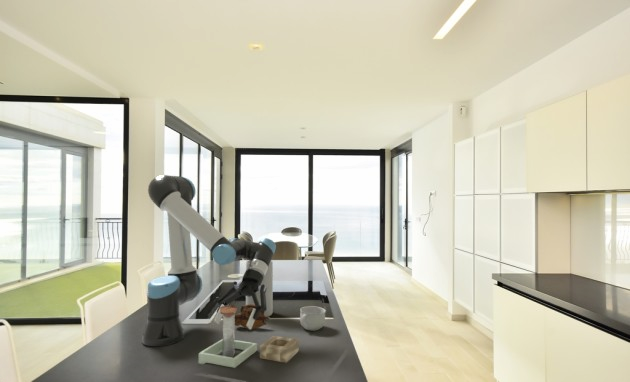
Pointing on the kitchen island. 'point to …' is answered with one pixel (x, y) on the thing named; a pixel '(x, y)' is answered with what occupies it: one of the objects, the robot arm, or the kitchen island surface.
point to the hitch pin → (228, 329)
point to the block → (279, 348)
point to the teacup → (312, 317)
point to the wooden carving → (245, 315)
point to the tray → (212, 356)
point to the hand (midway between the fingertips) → (232, 325)
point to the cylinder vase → (269, 290)
